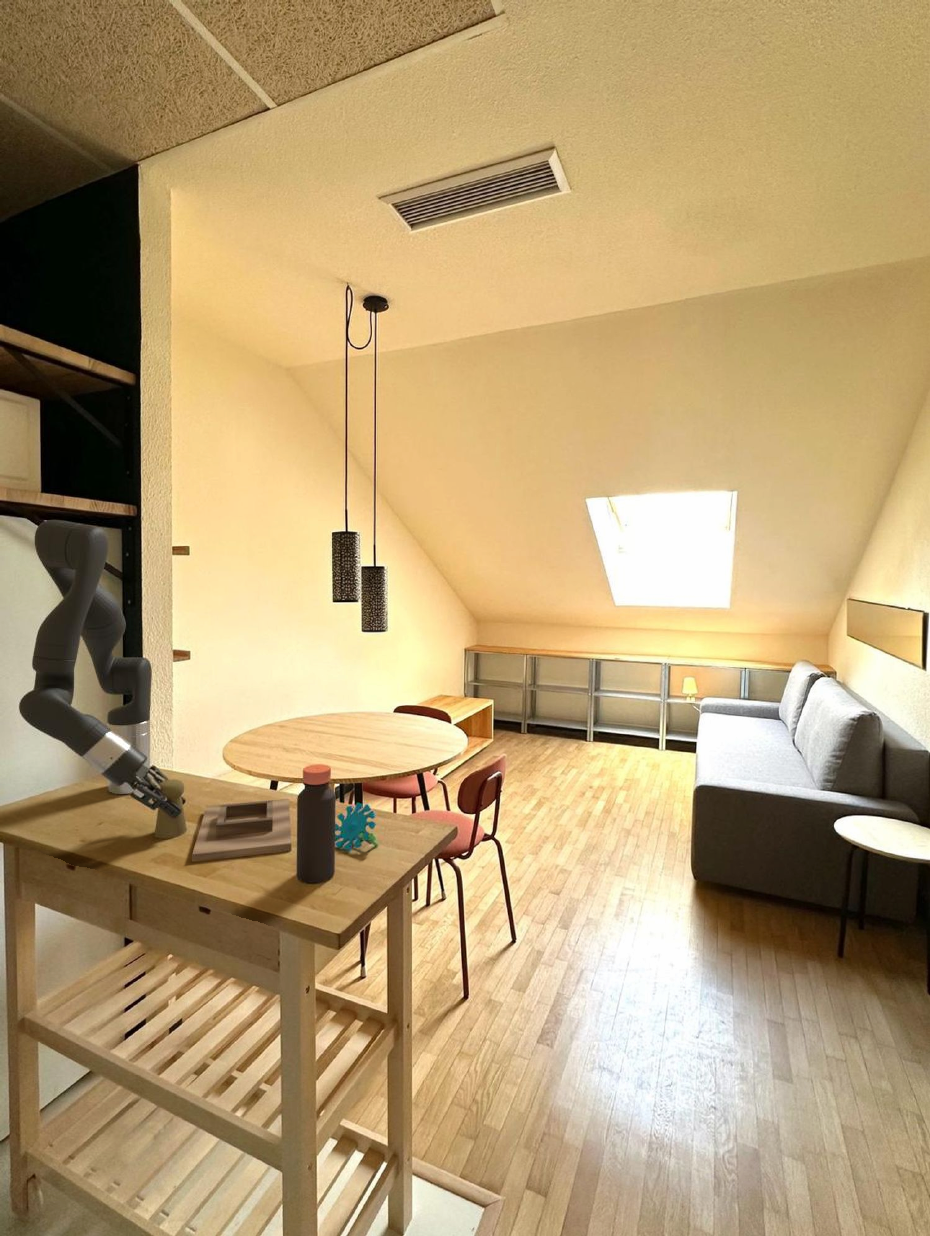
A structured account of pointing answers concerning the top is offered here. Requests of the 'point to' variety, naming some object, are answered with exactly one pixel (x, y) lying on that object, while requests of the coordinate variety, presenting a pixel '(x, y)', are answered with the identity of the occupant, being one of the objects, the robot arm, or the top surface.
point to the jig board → (243, 830)
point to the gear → (355, 827)
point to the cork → (166, 823)
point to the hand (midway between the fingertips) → (180, 809)
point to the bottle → (316, 826)
